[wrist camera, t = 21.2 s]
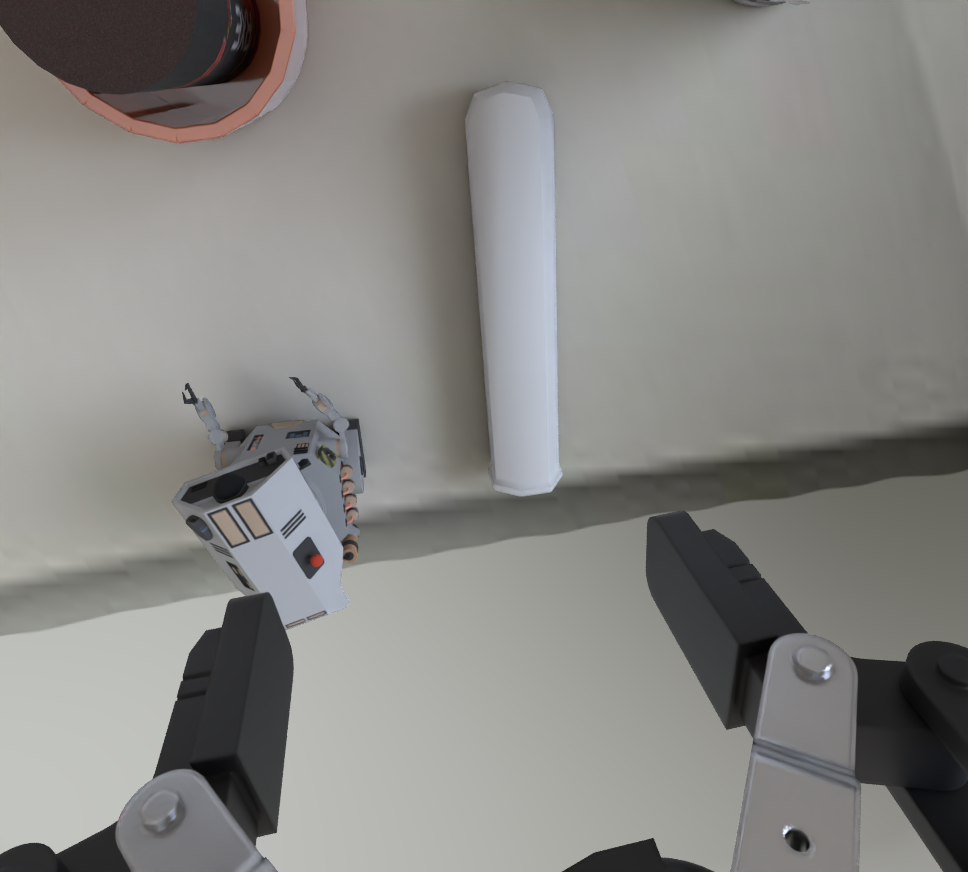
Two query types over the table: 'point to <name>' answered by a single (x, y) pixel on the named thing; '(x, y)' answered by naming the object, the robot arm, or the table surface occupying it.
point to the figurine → (281, 507)
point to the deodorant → (135, 41)
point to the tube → (516, 281)
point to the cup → (216, 87)
